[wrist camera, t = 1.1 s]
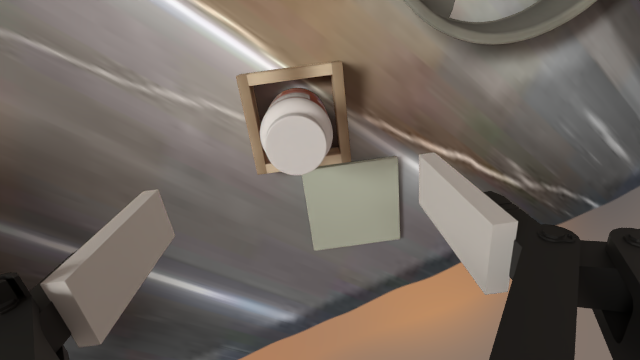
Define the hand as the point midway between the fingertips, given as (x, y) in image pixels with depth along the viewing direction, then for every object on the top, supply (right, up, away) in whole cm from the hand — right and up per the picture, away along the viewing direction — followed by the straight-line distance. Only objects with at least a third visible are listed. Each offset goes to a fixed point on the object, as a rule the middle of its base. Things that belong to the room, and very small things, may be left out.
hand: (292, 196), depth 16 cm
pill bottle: (-1, +8, +18) cm, 20 cm away
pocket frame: (-1, +8, +18) cm, 19 cm away
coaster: (+5, -2, +22) cm, 23 cm away
